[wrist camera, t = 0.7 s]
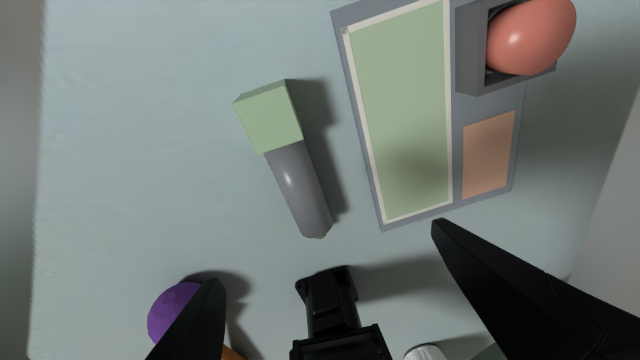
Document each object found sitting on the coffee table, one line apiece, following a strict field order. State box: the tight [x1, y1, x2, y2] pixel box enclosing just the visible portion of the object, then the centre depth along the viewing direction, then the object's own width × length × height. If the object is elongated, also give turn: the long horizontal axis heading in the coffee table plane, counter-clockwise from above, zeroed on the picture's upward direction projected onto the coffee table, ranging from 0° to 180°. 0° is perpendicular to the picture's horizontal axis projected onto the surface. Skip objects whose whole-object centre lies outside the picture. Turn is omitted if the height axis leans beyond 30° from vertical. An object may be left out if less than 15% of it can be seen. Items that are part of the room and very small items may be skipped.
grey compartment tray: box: [330, 0, 557, 232], centre depth 19 cm, size 20×14×3 cm
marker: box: [232, 79, 333, 239], centre depth 19 cm, size 14×3×3 cm, turn 17°
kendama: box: [147, 281, 246, 360], centre depth 28 cm, size 6×6×20 cm
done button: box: [485, 0, 576, 75], centre depth 15 cm, size 4×4×3 cm
